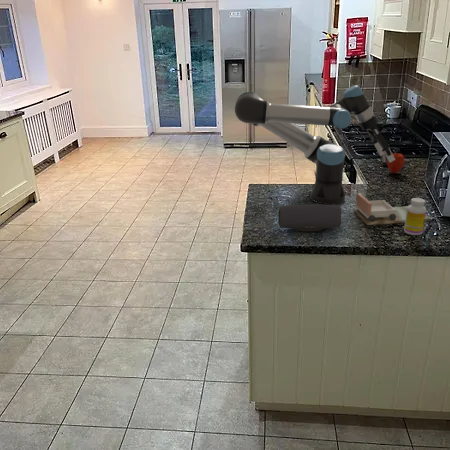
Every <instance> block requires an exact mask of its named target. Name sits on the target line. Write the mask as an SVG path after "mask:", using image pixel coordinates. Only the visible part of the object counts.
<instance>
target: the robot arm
mask: <svg viewBox="0 0 450 450" xmlns="http://www.w3.org/2000/svg"><path fill="white" fill-rule="evenodd" d="M342 94H343V97H342V98H341V99H339V100H338V101H337V102H334V103H333V104H331V105H329V106H328V107H325V106H311V105H301V104H300V105H298V104H282V103H270V101H268V100H265V99H262V98H261V97H260V96H259V94H257V93H256V92H254V91H253V92H252V91H246V92H243V93H242V94H240V95H239V96H238V97H237V99H236V101H235V105H234V113H235V116H236V118H237V119H238V120H239V121H240V122H242V123H244V124H251V125H253V126H255V127H262V128H264V129H265V130H267V131H269V132H270V133H272V134H273V135H275V136H277V137H278V138H280V139H282V140H283V141H284V142H287V144H290V145H291V146H292V147H294V148H296V150H297V149H298V150H299V151H300V152H302V153H303V154H304V158H305V159H307V160H308V161H309V162H312V163H313V164H314V165H315V167H316V168H315V181H314V183H313V187H312V190H311V191H310V199H311V198H312V199H313V200H315V201H317V202H321V203H320V204H322V203H326V204H325V205H336V204H335V203H338V204H341V203H344V202H345V198H346V194H345V190H344V185H343V177H344V175H343V174H344V168H345V167H344V165H345V159H346V155H345V152H346V151H345V149H344V148H343V147H342V146H340V145H337V144H335V143H333V142H332V141H330V140H327V139H325V138H323V137H322V136H320V135H317V136H315V135H313V134H311V133H309V132H307V131H306V130H305V129H303V128H301V127H300V126H299V124H300V125H312V126H313V125H314V126H315V125H316V126H329V127H336V128H338V129H345V128H347V127H348V126H350V124H351V123H352V113H353V115H354V117H355V120H357V122H358V124H359V126H360V128H361V129H362V130H363V131H367V134H368V136H369V139H370V141H371V143H372V144H373V145H374V147H375V149H376V150H377V151H376V152H377V153H378V154H379V156H380V157H381V155H383V154H385V155H386V157H387V159H388V161H389V162H392V161H394V160H395V158H394V156H393V154H394V153H393V152H392V151H391V149H390V147H391V146H390V145H389V143H388V142H387V140H386V138H385V137H384V135H383V134H382V132H381V131H380V128H379V127H377V126H376V125H377V124H378V122H379V120H378V119H377V116H376V115H375V114H374V113H375V112H374V111H373V106H371V105H370V103H369V102H368V99H367V98H366V96H365V94H364V92H363V90H362V89H361V87H360V86H359V85H357V84H355V85H352V86H349V87H348V88H347V89H346V90H344V91H343V93H342ZM297 124H298V125H297ZM313 200H312V201H313ZM315 201H314V202H315ZM317 202H316V203H317Z"/></svg>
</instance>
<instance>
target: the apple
mask: <svg viewBox="0 0 450 450" xmlns="http://www.w3.org/2000/svg"><path fill="white" fill-rule="evenodd" d="M392 154H393V156H394V158H395V160H394V161H392V162H389V161H388V160H387V165H388V166H387V167H388V169H389V171H390V173H391V174H398V173H399V172H400V171H401V169H403V168H404V165H405V162H404V161H405V160H404V159H405V157H404V155H403V154H402V153H398V152H397V153H392Z"/></svg>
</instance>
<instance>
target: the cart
mask: <svg viewBox="0 0 450 450" xmlns="http://www.w3.org/2000/svg"><path fill="white" fill-rule="evenodd" d="M355 200H356V201H355V208H356V209H358V210H359V211H360V212H361V213H362V214H363V215H364V216H365V217H367V218H369V220H370V221H371V222H373V221H375V219H376V217H389V218H390V219H391V220H395V219H396V216H397V210H396V209H394V208H393V207H394V206H391V204H390V203H389V202H387V201H386V199H381V200H379V199H378V200H368V199H367V198H366V197H365V196H364V195H363V194H362V193H361V192H360V193H359V192H358V193H356V199H355Z"/></svg>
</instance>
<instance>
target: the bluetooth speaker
mask: <svg viewBox="0 0 450 450" xmlns="http://www.w3.org/2000/svg"><path fill="white" fill-rule="evenodd" d="M277 219H278V226H279V228H280V229H293V230H295V231H296V232H319V231H320V232H321V231H323V229H333V228H340V227H341V225H342V208H341V206H340V205H337V204H289V205H288V204H287V205H279V206H278V215H277Z"/></svg>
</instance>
